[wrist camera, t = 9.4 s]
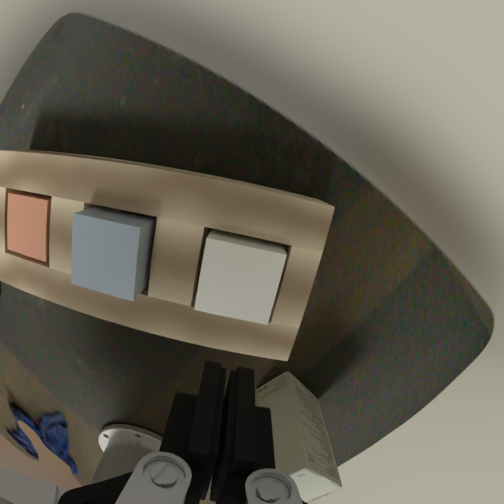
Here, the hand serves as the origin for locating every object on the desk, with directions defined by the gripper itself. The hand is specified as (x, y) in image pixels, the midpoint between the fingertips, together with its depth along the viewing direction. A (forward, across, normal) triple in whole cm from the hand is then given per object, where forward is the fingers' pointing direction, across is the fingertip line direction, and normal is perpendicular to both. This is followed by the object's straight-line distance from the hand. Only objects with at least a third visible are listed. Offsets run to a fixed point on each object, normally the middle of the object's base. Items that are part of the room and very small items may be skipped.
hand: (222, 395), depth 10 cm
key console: (+16, +9, -1) cm, 18 cm away
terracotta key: (+14, +18, -1) cm, 23 cm away
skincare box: (+16, -8, +13) cm, 23 cm away
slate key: (+12, +9, -1) cm, 15 cm away
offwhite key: (+13, 0, -1) cm, 13 cm away
